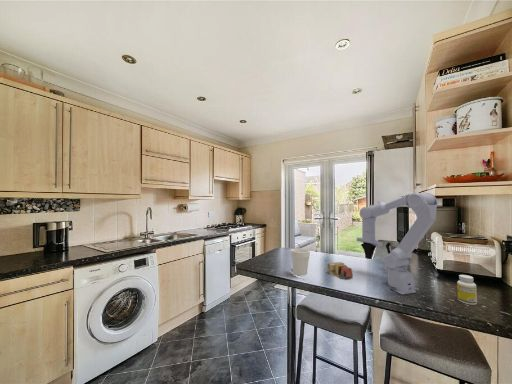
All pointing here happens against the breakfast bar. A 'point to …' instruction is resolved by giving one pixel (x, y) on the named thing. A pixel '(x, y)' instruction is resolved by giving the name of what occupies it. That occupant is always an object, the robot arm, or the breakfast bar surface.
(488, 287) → the breakfast bar surface
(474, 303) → the supplement bottle
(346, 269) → the orange grey block
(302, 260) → the foam cup
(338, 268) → the tan lumpy piece
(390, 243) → the coffeepot
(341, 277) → the bearing stand
